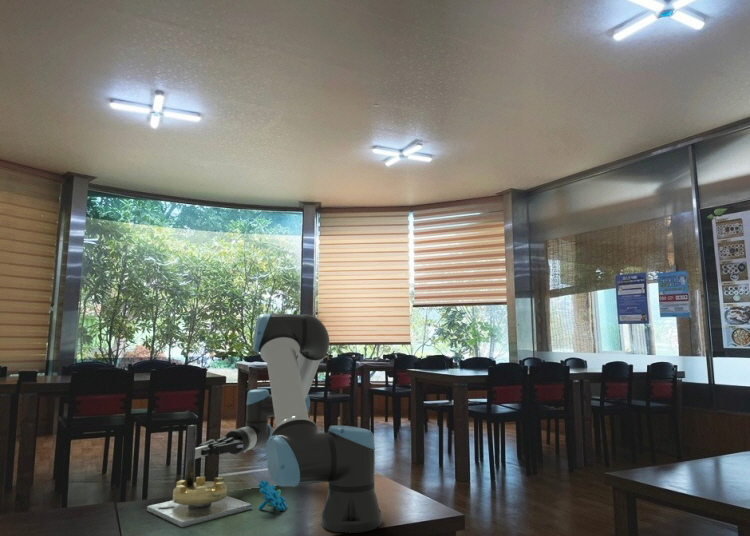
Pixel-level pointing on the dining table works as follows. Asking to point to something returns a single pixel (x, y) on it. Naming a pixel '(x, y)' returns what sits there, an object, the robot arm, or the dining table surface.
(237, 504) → the white square base plate
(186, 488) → the gold toothed rod mount
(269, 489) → the gear
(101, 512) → the dining table surface
